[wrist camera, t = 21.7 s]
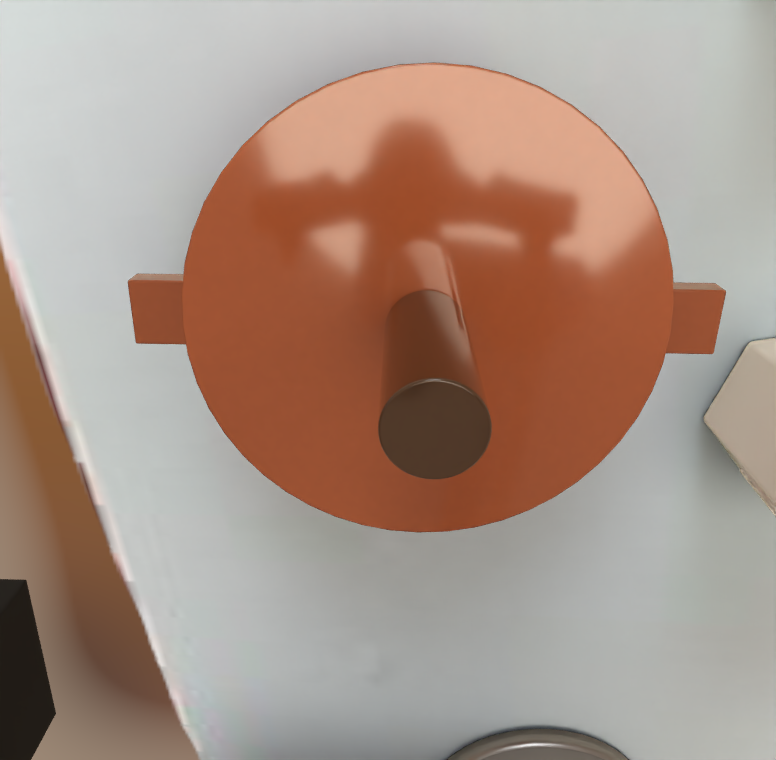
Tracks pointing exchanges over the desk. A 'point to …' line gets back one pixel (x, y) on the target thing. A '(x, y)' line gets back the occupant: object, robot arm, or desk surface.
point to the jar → (750, 417)
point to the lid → (427, 297)
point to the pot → (165, 326)
